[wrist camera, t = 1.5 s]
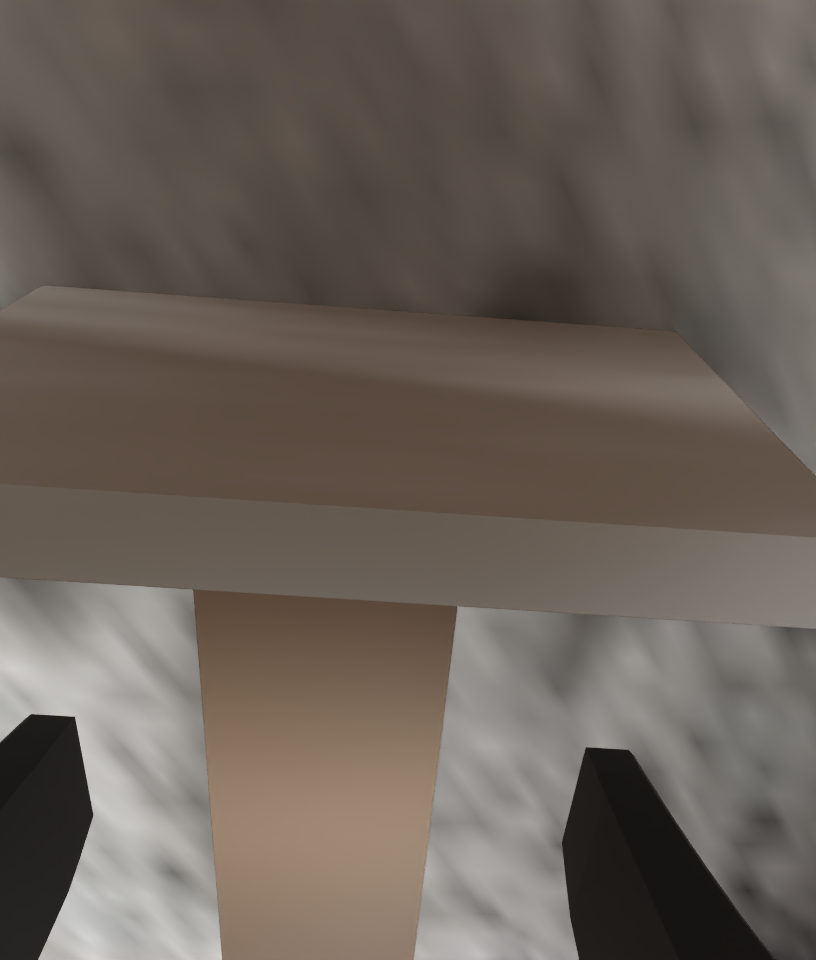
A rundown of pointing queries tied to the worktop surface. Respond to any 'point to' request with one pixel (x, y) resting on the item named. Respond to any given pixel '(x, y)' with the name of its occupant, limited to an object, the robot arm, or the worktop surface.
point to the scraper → (373, 542)
